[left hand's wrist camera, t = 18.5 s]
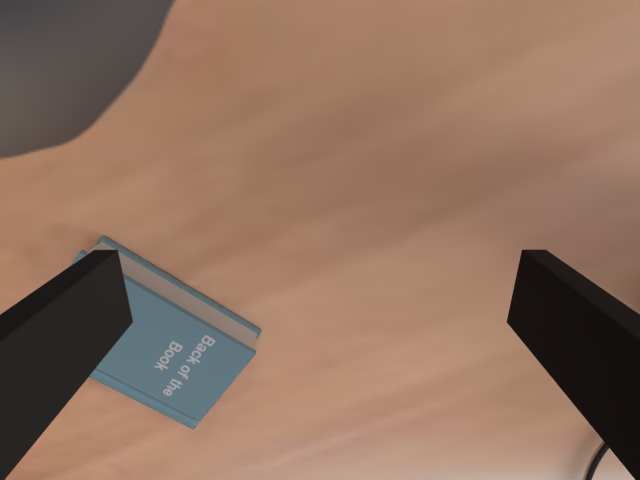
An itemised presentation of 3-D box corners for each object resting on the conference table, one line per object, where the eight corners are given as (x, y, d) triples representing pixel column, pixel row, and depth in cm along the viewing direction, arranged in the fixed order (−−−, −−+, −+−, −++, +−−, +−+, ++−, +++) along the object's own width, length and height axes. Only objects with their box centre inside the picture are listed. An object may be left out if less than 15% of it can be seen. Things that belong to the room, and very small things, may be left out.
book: (261, 330, 50) (255, 354, 46) (200, 405, 55) (189, 433, 50) (103, 235, 45) (79, 252, 41) (52, 326, 50) (24, 350, 45)
